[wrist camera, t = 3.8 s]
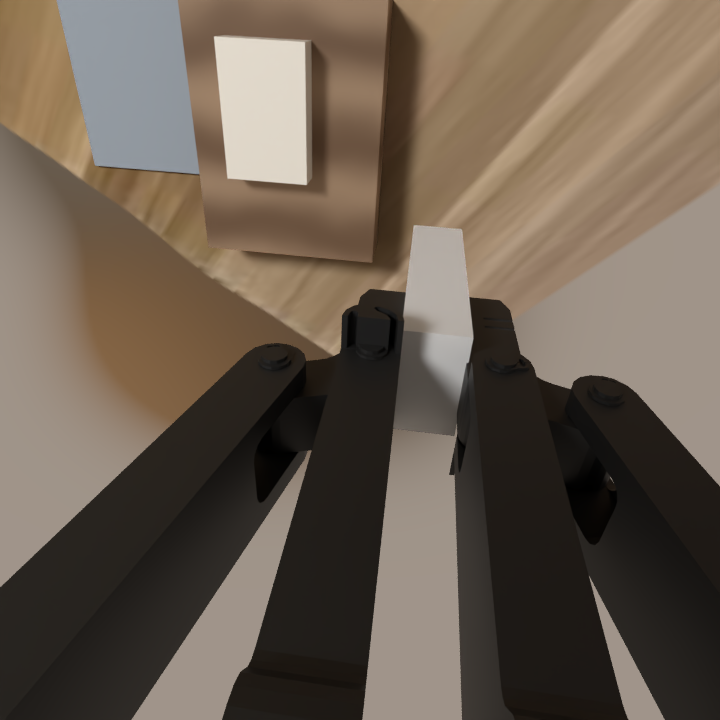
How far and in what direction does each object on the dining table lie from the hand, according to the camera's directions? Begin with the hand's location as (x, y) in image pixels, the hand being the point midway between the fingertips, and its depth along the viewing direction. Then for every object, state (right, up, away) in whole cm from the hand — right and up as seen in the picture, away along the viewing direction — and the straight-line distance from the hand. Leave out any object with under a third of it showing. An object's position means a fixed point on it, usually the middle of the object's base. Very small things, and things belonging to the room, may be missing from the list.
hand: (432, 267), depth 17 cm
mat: (-20, +19, +25) cm, 37 cm away
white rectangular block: (-9, +15, +21) cm, 27 cm away
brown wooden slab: (-7, +16, +25) cm, 30 cm away
